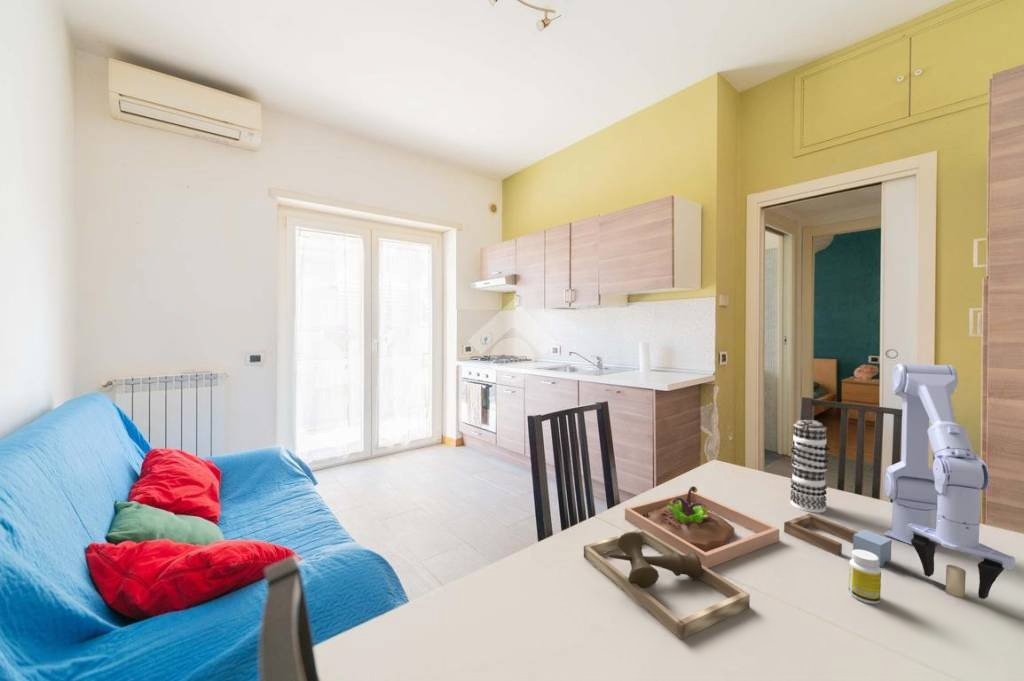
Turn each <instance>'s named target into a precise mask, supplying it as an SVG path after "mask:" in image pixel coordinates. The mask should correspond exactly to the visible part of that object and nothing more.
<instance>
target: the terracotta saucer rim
mask: <svg viewBox="0 0 1024 681" xmlns="http://www.w3.org/2000/svg"><path fill="white" fill-rule="evenodd" d="M687 493H688V491H685V492H682V493H679V494H678V493H677V494H674V495H670V496H666V497H662V498H658V499H655V500H651V501H647V502H643V503H639V504H636V505H632V506H627V507H625V508H624V519H625V520H626V521H627V522H629V523H631V524H633V525H634V526H636V527H638V528H639V529H645V530H646V531H648V532H649V533H651V534H653V535H654V536H656V537H657V538H659V539H661V540H662V541H664V542H666V543H667V544H669V545H670V546H672V547H674V548H675V549H677V550H679V551H680V552H682V553H683V554H685V555H688V553H690V552H694V553H696V554H697V556H698V557H699V559H700V561H701V565H703V566H705V567H706V568H708V569H709V568H712V567H715V566H717V565H721V564H722V563H726V562H728V561H730V560H733V559H737V558H738V556H739V557H742V556H744V555H746V553H747V554H750V553H752V552H754V551H757V550H760V549H762V548H765V547H767V546H770V545H772V544H775V543H778V542H780V528H778V527H776V526H773V525H771V524H770V523H767V522H765V521H762V520H760V519H757V518H756V517H753V516H750V515H748V514H747V513H746V514H745V513H744V512H741V511H739V510H737V509H736V508H735V509H734V508H732V507H730V506H728V505H725V504H723V503H721V502H719V501H716V500H714V499H712V498H710V497H707V496H705V495H703V494H701V493H698V492H695V493H694V492H692V490H691V502H692V503H695V502H699V503H702V504H704V505H705V506H706V507H707V509H708V510H707V511H709V512H711V513H713V514H716V513H717V514H716V515H717V516H720V515H721V516H720V517H722V516H723V518H725V519H727V520H729V521H731V522H734V523H736V524H737V525H740V526H742V527H744V528H746V529H748V530H751V531H752V532H755V533H756V534H753V535H750V536H747V537H744V538H742V539H738V540H736V541H733V542H729V543H728V544H727V545H724V546H722V547H719V548H716V549H711V550H709V551H708V552H704V551H702V550H701V549H699V548H697V547H695V546H694V545H692V544H690V543H688V542H687V541H685V540H683V539H682V538H680V537H678V536H676V535H675V534H673V533H671V532H669V531H668V530H666V529H664V528H663V527H661V526H659V525H657V524H656V523H654V522H652V521H650V520H649V519H647V518H648V517H646V516H648V515H647V514H648V513H649V512H653V510H659V509H662V508H663V507H665V506H668V505H670V502H671V501H672V500H674V499H676V498H677V497H679V498H682V499H683V500H684V501H685V502H686V501H687V500H686V498H687ZM679 501H680V500H676V502H675V503H676V504H678V505H679ZM699 506H701V505H698V507H699ZM643 515H645V516H643Z"/></svg>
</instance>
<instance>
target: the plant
mask: <svg viewBox="0 0 1024 681" xmlns="http://www.w3.org/2000/svg"><path fill="white" fill-rule="evenodd" d="M691 491H692V492H694V493H695V492H696V493H698V488H697V487H696V486H693V485H692V486H690V487H689V490H688V491H687V492H688V493H687V498H686V500H687V501H686V502H685V501H684V500H683V499H682V498H679V497H677V498H676V499H674V500H672V501H671V502H670V505H668V506H665V507H663V508H662V509H659V510H653V512H649V513H648V515H647V517H646V518H647V519H649V520H650V521H652V522H654V523H656V524H657V525H659V526H661V527H663V528H664V529H666V530H668V531H669V532H671V533H673V534H675V535H676V536H678V537H680V538H682V539H683V540H685V541H687V542H688V543H690V544H692V545H694V546H695V547H697V548H699V549H701V550H702V551H704V552H708V551H711V550H713V549H716V548H719V547H722V546H724V545H727V543H728V544H729V543H730V541H731V540H732V539H733V538H734V537H735V527H734V526H733V525H731V524H730V523H729V522H728V521H727V520H725V519H724V517H723V518H722V516H720V515H718V514H716V513H713V512H711V511H709V510H707V507H706V506H705V505H704V504H702V503H699V502H695V503H693V502H691ZM676 500H680V501H679V505H678V504H676V503H675V502H676ZM699 505H701V506H699Z"/></svg>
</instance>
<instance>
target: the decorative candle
mask: <svg viewBox="0 0 1024 681" xmlns="http://www.w3.org/2000/svg"><path fill="white" fill-rule="evenodd" d="M792 426H793V428H794V429H793V430H794V431H793V437H792V439H793V440H792V441H791V442H790V452H791V453H792V454H791V455H790V459H791V460H790V461H791V462H790V464H791V466H793V470H792V471H793V472H792V478H791V480H790V482H791V484H790V488H791V489H790V494H791V495H790V496H789V497H790V504H791V505H792V506H793V507H794V508H796V509H799V510H802V511H804V512H810V513H819V514H820V513H824V512H826V511H827V508H826V507H827V502H826V501H827V496H826V495H827V494H828V493H827V489H828V486H827V485H826V471H827V470H828V466H827V465H826V464H827V463H829V460H828V459H827V458H829V454H828V453H826V452H827V451H830V448H829V445H830V441H827V438H826V437H827V430H828V428H827V426H824V424H823V423H822V422H820V421H818V420H813V419H799V420H797V421H796V422H795V423H793V424H792Z"/></svg>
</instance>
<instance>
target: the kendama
mask: <svg viewBox="0 0 1024 681" xmlns="http://www.w3.org/2000/svg"><path fill="white" fill-rule="evenodd" d="M621 535H622V536H621V537H620V538H619V539H618V547H619V550H620V551H621V552H622V553H624V554H620V553H609V554H607V557H609V559H610V558H611V559H615V560H623V561H627V562H628V561H629V562H630V563H629V564H630V567H631V568H630V572H629V574H628V581H629V583H635V584H637V585H638V586H639V587H640V588H642V589H643V590H645V589H648V588H650V587H652V586H654V585H655V584H656V583H657V582H658V581H659V578H660V575H659V571H658V570H657V569H656V568H654V567H658V568H661V569H665V570H668V571H670V572H672V573H673V574H674V576H676V577H680V576H681V575H685V576H688V577H690V579H691V580H693V581H696V580H699V579H700V578H699V577H700V575H701V573H702V565H701V561H700V559H699V557H698V556H697V554H696V553H694V552H690V553H688V555H680V554H679V553H678V552H676V551H675V552H673V553H672V554H671V555H668V556H665V555H662V556H661V555H659V556H658V555H657V556H656V555H655V556H651V555H650V556H648V555H647V556H646V555H644V554H643V545H644V542H643V537H642V535H640V534H639V533H636V532H633V531H629V532H625V533H622V534H621Z"/></svg>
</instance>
